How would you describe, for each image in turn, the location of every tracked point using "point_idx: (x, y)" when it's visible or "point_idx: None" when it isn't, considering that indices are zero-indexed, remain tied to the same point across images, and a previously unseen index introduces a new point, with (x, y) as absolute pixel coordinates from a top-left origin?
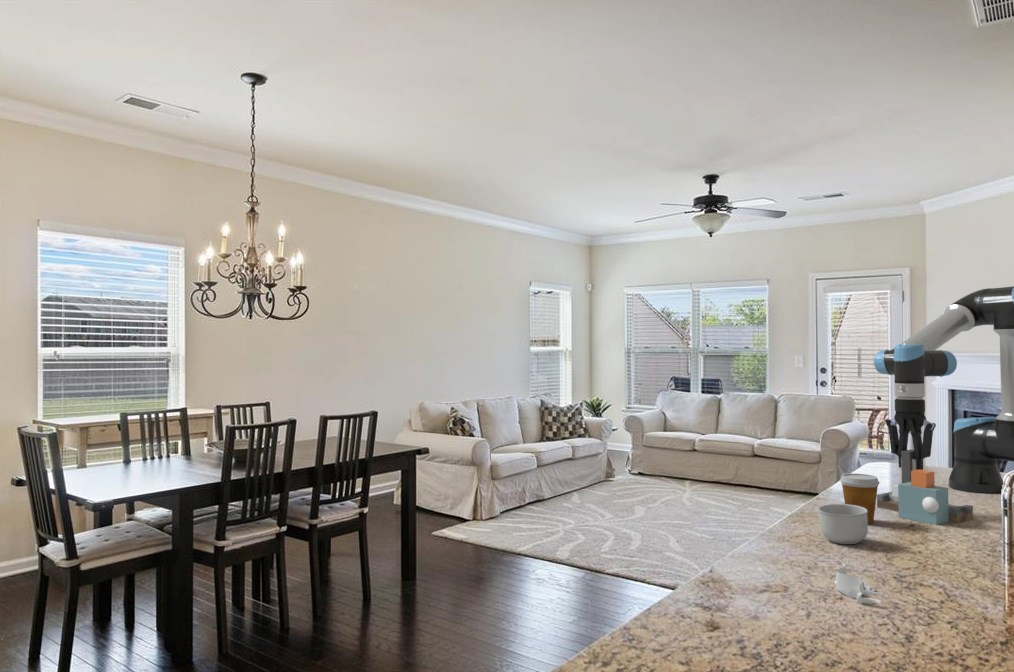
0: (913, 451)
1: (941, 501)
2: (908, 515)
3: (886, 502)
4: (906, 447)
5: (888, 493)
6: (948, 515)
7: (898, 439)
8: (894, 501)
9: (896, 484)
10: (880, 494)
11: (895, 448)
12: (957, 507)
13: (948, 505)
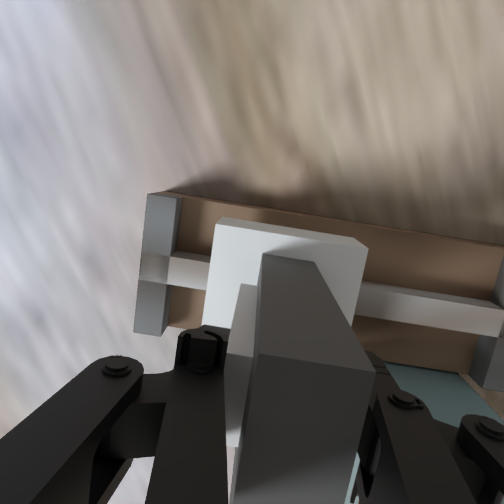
0: (344, 500)
1: None
2: None
3: (187, 328)
4: (222, 441)
5: (155, 261)
6: (457, 374)
7: (40, 499)
8: (205, 292)
9: (202, 323)
10: (140, 313)
11: (113, 487)
12: (502, 347)
13: (481, 398)
